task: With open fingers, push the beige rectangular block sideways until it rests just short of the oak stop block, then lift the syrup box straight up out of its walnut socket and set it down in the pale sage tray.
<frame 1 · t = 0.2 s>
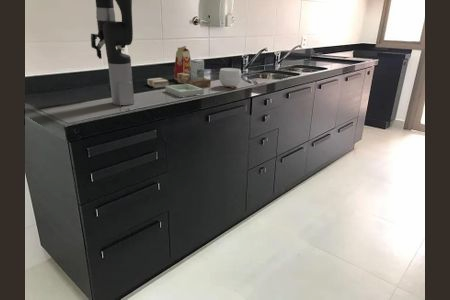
hand: (109, 58, 143), 18 cm above the countertop, tool pointing down, fingers open, 8 cm apart
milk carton: (183, 79, 196), on the countertop
socket: (196, 86, 177), on the countertop
beige rectangular block: (158, 86, 176), on the countertop
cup: (229, 87, 178), on the countertop
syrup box: (196, 86, 178), resting in socket
tray: (184, 93, 160), on the countertop
stop block: (183, 82, 185), on the countertop
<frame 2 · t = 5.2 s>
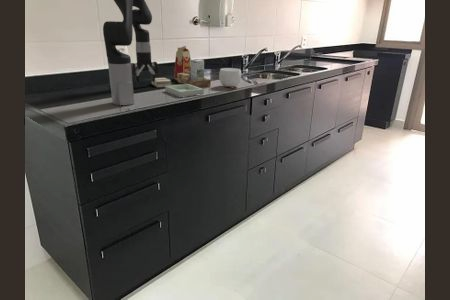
hand: (145, 82, 171), 2 cm above the countertop, tool pointing down, fingers open, 8 cm apart
beige rectangular block: (161, 85, 177), on the countertop
everything else where it was.
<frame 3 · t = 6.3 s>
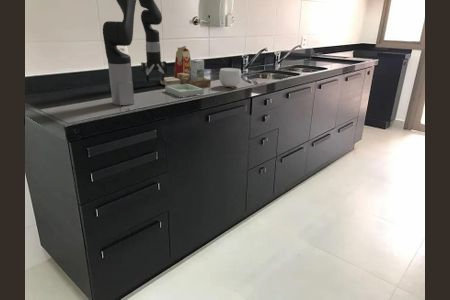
hand: (155, 81, 175), 2 cm above the countertop, tool pointing down, fingers open, 8 cm apart
beige rectangular block: (170, 85, 180), on the countertop
everything else where it was.
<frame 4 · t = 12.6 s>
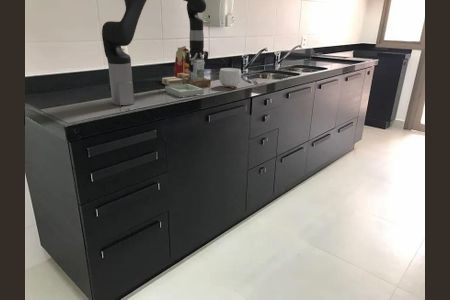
hand: (196, 71, 174), 8 cm above the countertop, tool pointing down, fingers closed on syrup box, 6 cm apart
beige rectangular block: (172, 84, 181), on the countertop
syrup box: (196, 86, 178), resting in socket, touching gripper
everything else where it was.
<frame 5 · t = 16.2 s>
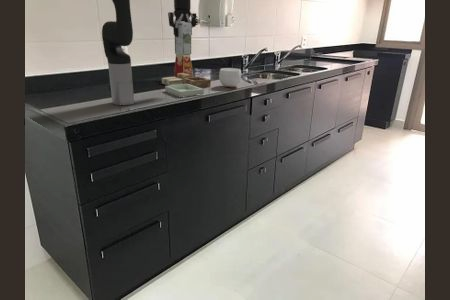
hand: (182, 36, 150), 27 cm above the countertop, tool pointing down, fingers closed on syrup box, 6 cm apart
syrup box: (183, 54, 153), point 19 cm above the countertop, touching gripper
everything else where it was.
when the fingers open (10 cm above the countertop, at t = 19.8 s): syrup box drops 1 cm, resting on tray.
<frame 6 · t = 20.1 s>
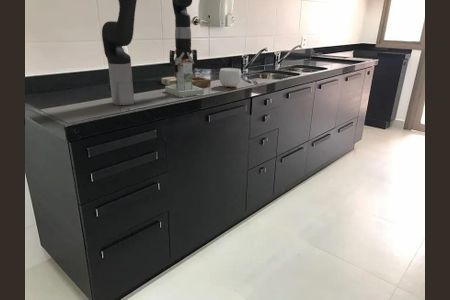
hand: (183, 71, 156), 11 cm above the countertop, tool pointing down, fingers open, 8 cm apart
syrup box: (184, 92, 160), resting on tray
everything else where it was.
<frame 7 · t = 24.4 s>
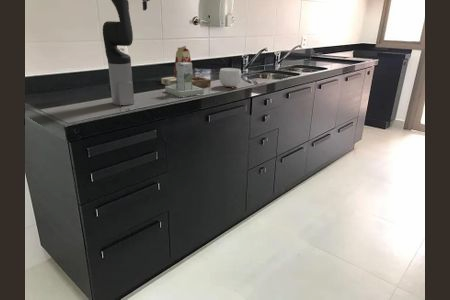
hand: (136, 10, 150), 38 cm above the countertop, tool pointing down, fingers open, 8 cm apart
nothing on the countertop moved.
at the end: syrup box inside the target area on the tray (0.1 cm from its centre), point 0.4 cm above the tray's base; beige rectangular block inside the target area (0.9 cm from its centre), on the countertop; the gripper is holding nothing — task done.
